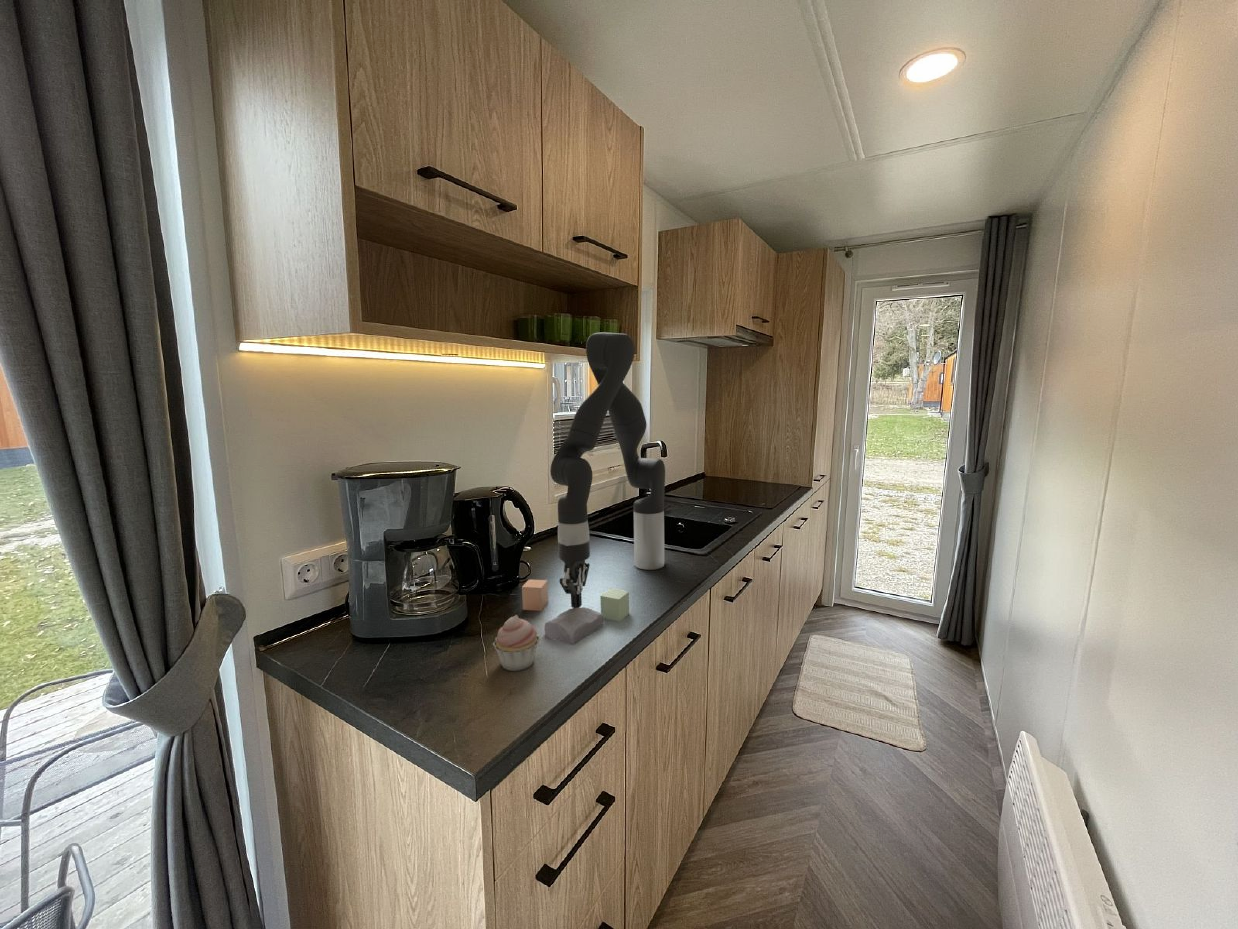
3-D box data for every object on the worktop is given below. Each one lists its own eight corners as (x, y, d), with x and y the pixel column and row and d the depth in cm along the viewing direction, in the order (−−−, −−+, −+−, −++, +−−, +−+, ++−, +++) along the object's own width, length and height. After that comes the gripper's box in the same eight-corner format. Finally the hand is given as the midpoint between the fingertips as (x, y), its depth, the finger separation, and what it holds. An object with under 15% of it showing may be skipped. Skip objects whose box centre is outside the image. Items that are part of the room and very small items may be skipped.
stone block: (541, 644, 111) (574, 647, 105) (537, 622, 111) (570, 625, 105) (575, 624, 121) (608, 627, 115) (572, 605, 121) (604, 606, 115)
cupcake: (551, 662, 99) (548, 615, 98) (510, 681, 93) (507, 631, 92) (525, 646, 106) (522, 601, 105) (485, 663, 100) (482, 615, 98)
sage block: (611, 609, 123) (610, 588, 123) (629, 613, 121) (628, 591, 120) (601, 617, 119) (600, 595, 118) (619, 621, 117) (618, 599, 116)
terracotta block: (530, 601, 129) (528, 579, 128) (548, 602, 128) (547, 580, 127) (523, 609, 124) (521, 586, 123) (542, 611, 123) (541, 587, 123)
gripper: (571, 530, 127) (573, 594, 130) (546, 545, 115) (550, 616, 118) (598, 532, 125) (600, 598, 128) (576, 548, 113) (579, 620, 115)
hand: (576, 606), depth 123 cm, fingers closed
